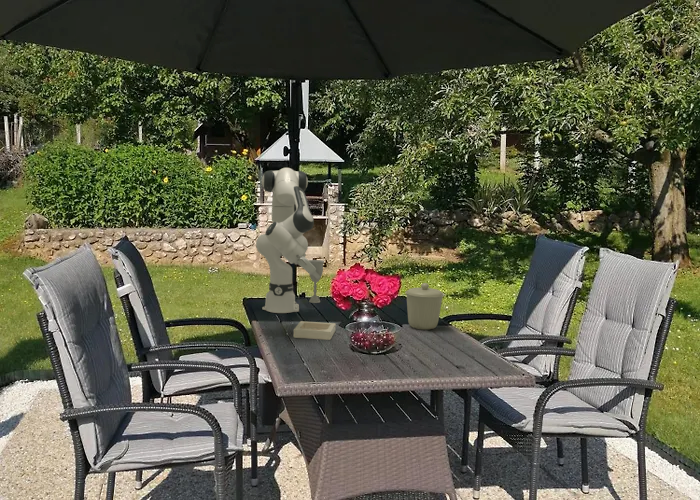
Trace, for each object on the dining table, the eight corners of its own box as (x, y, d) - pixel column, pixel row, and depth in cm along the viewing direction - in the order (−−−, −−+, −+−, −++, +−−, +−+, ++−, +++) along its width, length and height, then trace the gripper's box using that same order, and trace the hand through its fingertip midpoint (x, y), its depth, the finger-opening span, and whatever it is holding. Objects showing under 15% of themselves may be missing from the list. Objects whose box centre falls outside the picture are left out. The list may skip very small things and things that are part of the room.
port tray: (300, 328, 311) (300, 321, 310) (335, 331, 309) (335, 323, 309) (293, 337, 295) (293, 329, 295) (330, 339, 293) (330, 331, 293)
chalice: (324, 300, 303) (325, 260, 301) (321, 303, 297) (323, 262, 294) (307, 299, 304) (309, 259, 302) (305, 302, 297) (306, 261, 295)
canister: (400, 329, 316) (402, 284, 313) (406, 321, 333) (408, 278, 331) (439, 333, 312) (442, 287, 309) (444, 324, 329) (446, 281, 326)
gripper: (304, 251, 286) (326, 275, 289) (297, 246, 306) (318, 268, 309) (293, 262, 285) (316, 285, 289) (287, 256, 305) (308, 277, 309)
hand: (317, 276), depth 299 cm, fingers closed on chalice, 6 cm apart
